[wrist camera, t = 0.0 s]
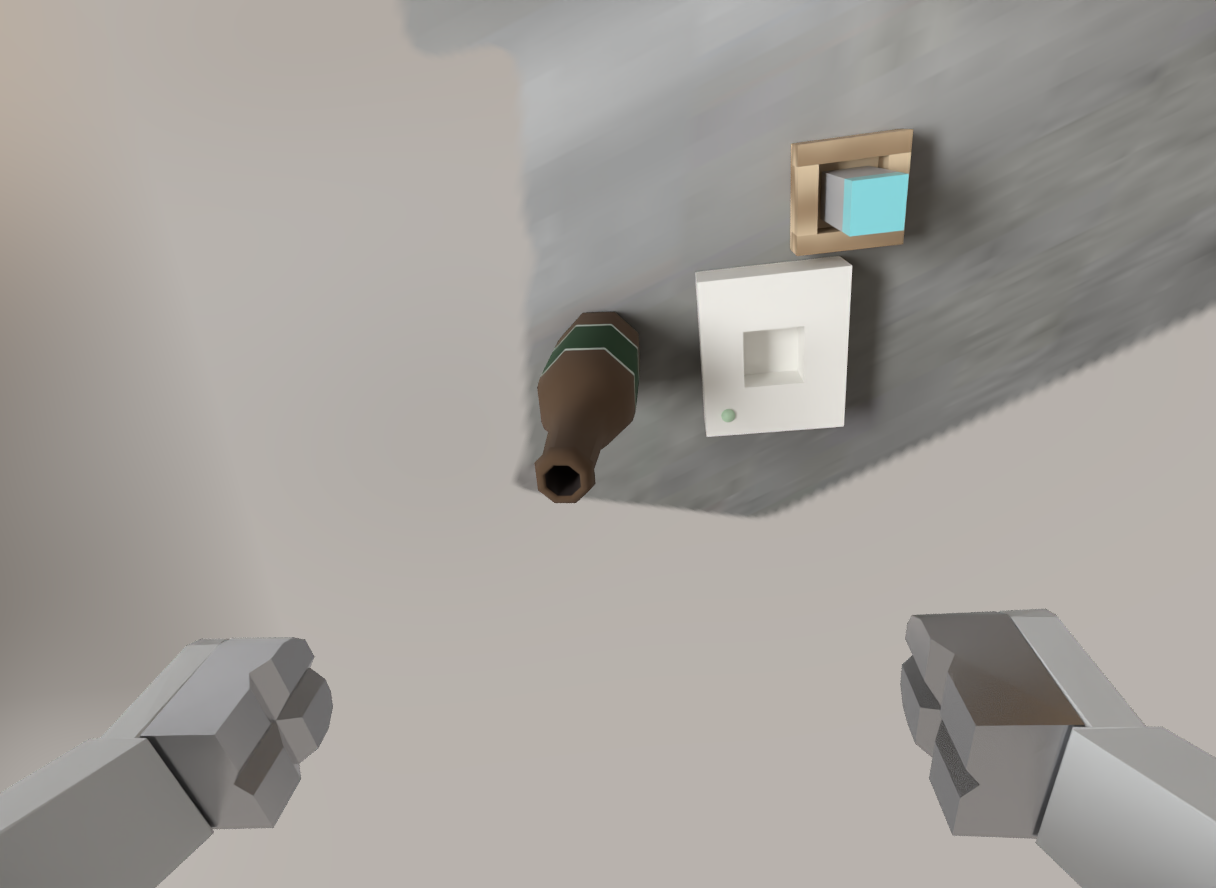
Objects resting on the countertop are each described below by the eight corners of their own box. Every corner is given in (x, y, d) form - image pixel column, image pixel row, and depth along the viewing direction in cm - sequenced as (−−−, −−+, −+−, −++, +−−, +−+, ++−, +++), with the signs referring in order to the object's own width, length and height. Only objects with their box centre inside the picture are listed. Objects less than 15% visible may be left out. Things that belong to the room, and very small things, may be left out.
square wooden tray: (791, 143, 47) (798, 145, 45) (899, 128, 46) (913, 129, 44) (790, 249, 51) (797, 255, 48) (890, 237, 50) (903, 243, 47)
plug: (821, 171, 48) (852, 181, 40) (868, 165, 47) (908, 173, 39) (820, 218, 49) (849, 236, 41) (865, 213, 49) (904, 230, 41)
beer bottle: (626, 398, 59) (603, 552, 37) (550, 370, 58) (482, 512, 37) (655, 324, 55) (648, 449, 34) (574, 294, 54) (515, 402, 33)
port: (695, 272, 53) (697, 283, 49) (839, 255, 51) (852, 266, 47) (704, 418, 59) (706, 437, 55) (832, 407, 57) (844, 427, 54)
